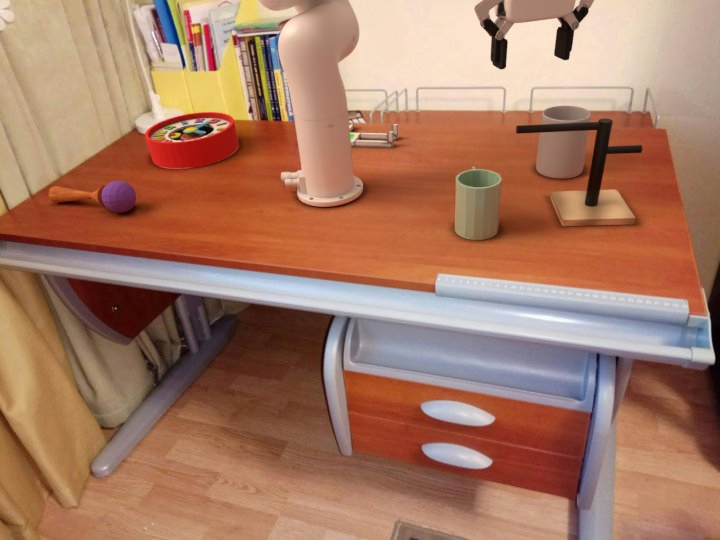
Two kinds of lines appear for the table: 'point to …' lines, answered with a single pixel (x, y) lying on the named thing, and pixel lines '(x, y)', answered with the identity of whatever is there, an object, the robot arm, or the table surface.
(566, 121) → the mug
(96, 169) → the table surface
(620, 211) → the mug holder
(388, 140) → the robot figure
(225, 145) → the toy clock
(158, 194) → the table surface
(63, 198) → the purple maraca
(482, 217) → the small mug
